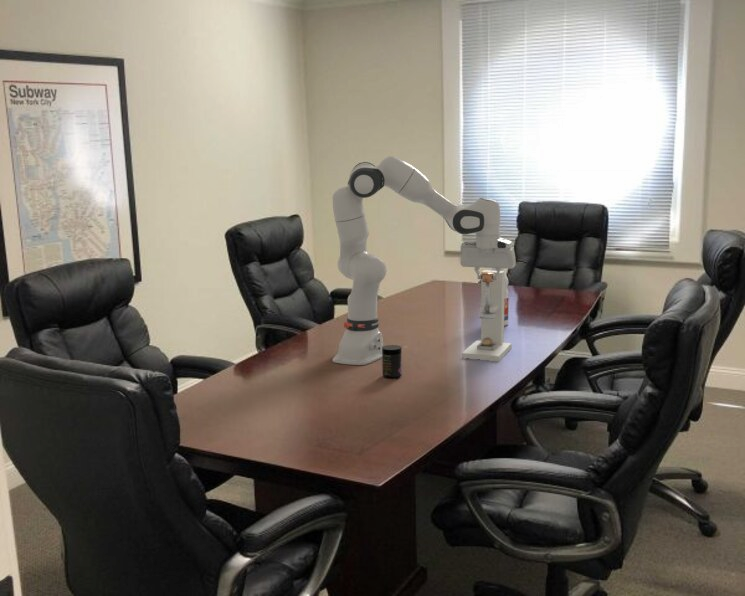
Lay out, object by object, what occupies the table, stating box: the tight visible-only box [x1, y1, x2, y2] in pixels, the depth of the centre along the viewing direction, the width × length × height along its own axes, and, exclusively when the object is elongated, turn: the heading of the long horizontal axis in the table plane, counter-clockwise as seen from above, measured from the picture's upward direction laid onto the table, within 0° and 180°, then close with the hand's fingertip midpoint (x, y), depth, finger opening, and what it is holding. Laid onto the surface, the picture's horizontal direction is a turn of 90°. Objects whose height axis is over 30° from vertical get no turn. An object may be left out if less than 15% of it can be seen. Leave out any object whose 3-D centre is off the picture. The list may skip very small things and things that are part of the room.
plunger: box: [478, 272, 496, 319], centre depth 298 cm, size 6×6×17 cm
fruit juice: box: [491, 268, 510, 327], centre depth 346 cm, size 9×9×28 cm
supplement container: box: [381, 344, 403, 380], centre depth 274 cm, size 7×7×10 cm
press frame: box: [461, 269, 513, 362], centre depth 300 cm, size 20×14×30 cm
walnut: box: [482, 338, 493, 347], centre depth 302 cm, size 4×4×4 cm
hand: (487, 279), depth 297 cm, fingers closed on plunger, 4 cm apart
